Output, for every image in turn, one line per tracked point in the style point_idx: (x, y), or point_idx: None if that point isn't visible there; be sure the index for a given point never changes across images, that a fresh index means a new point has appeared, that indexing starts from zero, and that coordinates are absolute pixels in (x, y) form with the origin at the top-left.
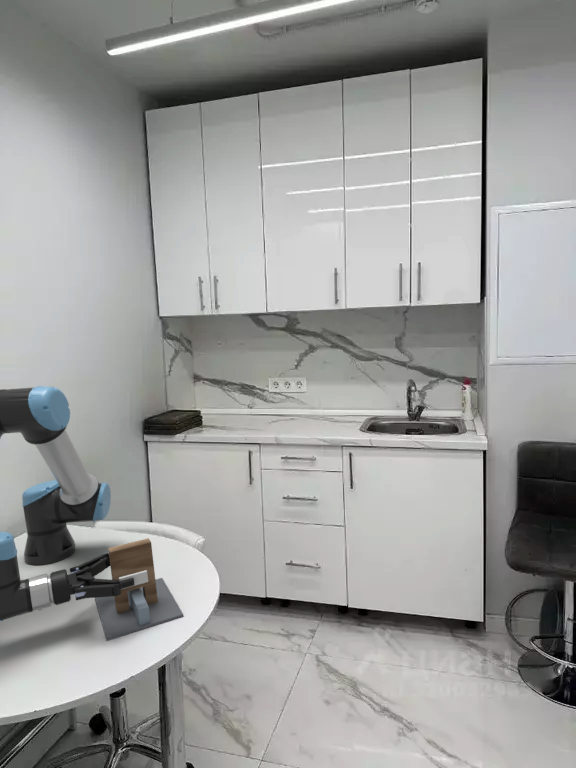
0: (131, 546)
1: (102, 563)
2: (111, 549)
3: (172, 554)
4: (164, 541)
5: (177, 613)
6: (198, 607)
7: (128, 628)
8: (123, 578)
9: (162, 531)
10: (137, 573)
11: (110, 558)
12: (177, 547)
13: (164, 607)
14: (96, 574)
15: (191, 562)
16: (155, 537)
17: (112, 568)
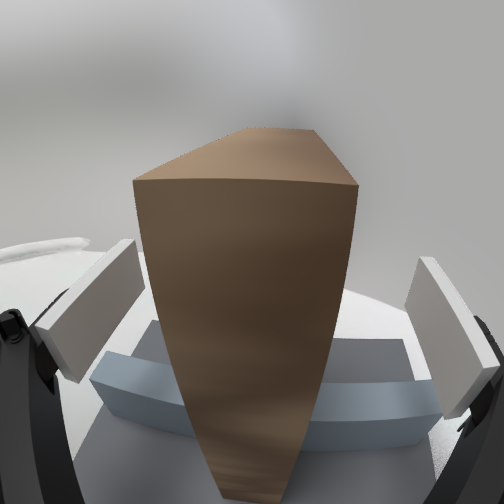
0: (308, 140)
1: (37, 400)
2: (235, 169)
3: (75, 273)
4: (27, 264)
5: (393, 348)
6: (367, 313)
7: (417, 478)
8: (487, 348)
9: (6, 255)
10: (447, 285)
11: (296, 302)
12: (66, 260)
13: (342, 367)
14: (81, 497)
15: (142, 265)
16: (4, 267)
17: (316, 390)
